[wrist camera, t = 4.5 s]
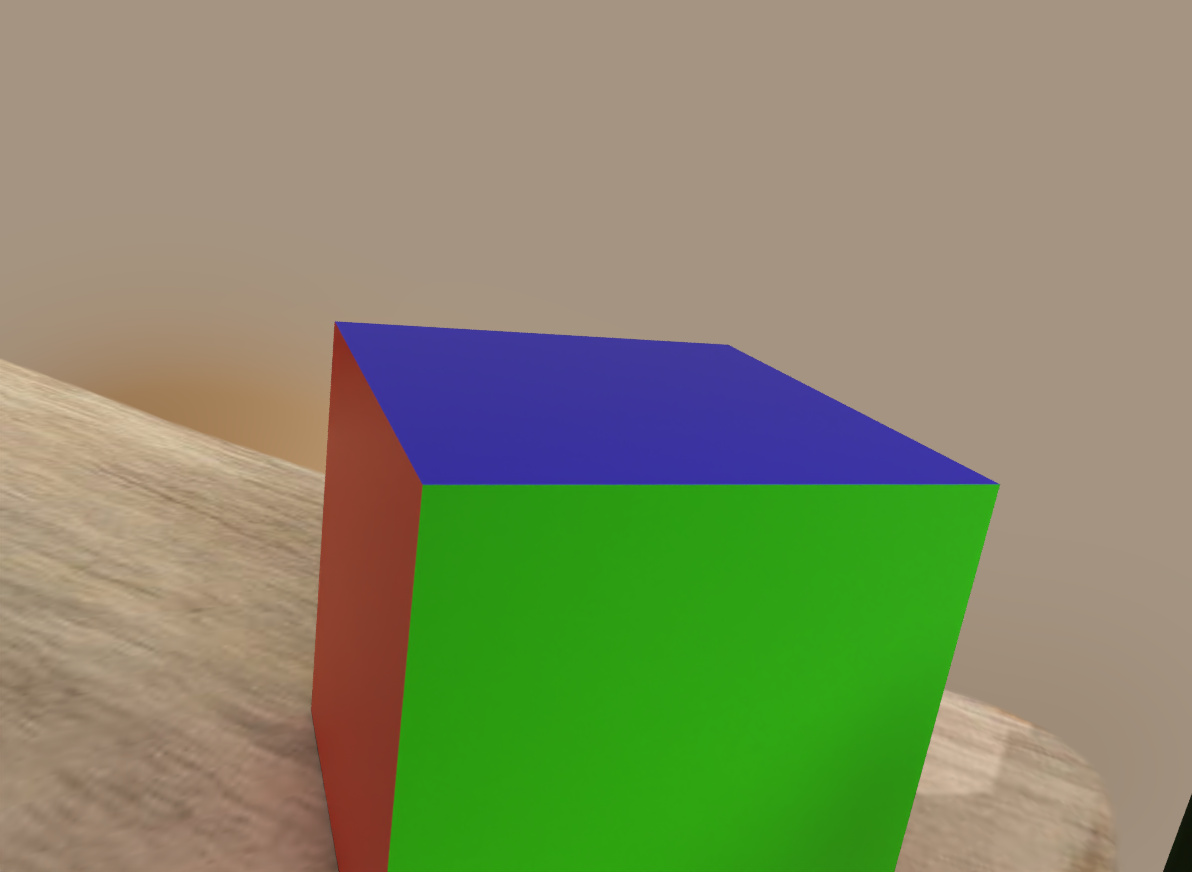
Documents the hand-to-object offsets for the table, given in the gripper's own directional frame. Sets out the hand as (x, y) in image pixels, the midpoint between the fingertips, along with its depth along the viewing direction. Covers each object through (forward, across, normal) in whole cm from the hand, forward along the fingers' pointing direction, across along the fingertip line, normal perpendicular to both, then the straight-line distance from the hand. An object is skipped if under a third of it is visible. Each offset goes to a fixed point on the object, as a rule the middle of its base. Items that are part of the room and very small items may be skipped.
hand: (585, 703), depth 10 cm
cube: (+6, 0, -6) cm, 9 cm away
